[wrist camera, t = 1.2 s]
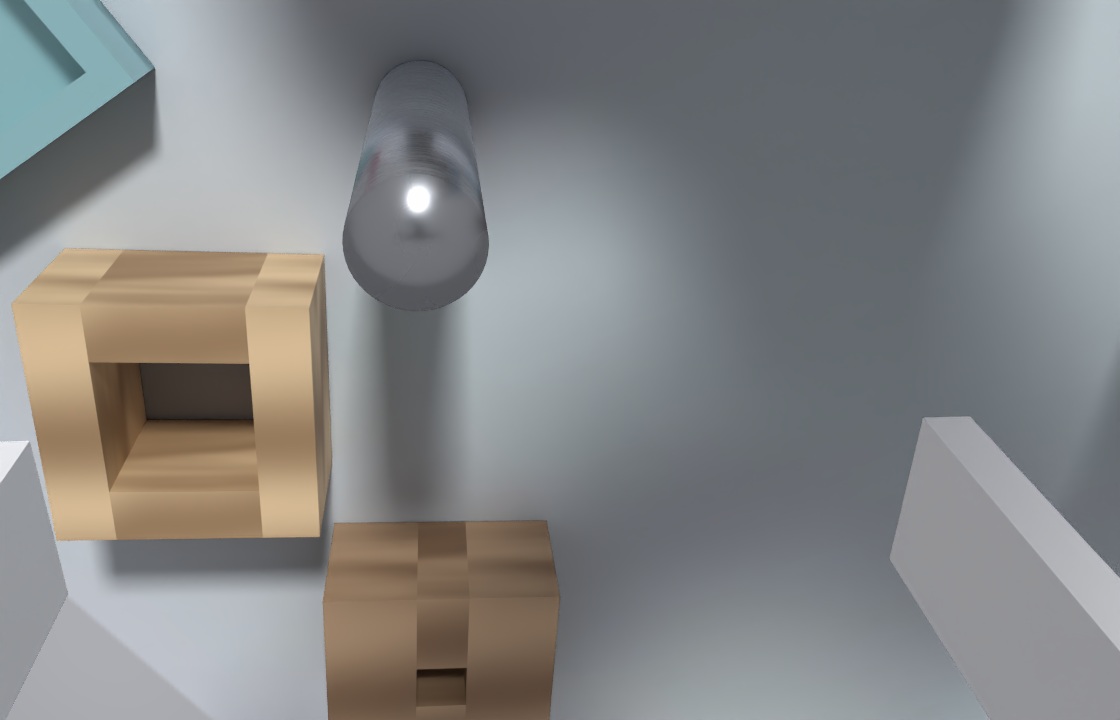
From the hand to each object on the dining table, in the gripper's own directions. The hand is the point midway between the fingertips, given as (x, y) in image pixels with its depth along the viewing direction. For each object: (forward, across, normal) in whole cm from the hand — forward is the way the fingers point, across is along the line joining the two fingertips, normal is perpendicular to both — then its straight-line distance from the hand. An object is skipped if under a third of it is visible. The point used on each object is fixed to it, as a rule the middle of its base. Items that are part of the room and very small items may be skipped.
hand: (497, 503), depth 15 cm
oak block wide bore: (+22, -10, -9) cm, 26 cm away
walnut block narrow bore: (+22, -1, -21) cm, 31 cm away
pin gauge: (+22, -2, +1) cm, 23 cm away
